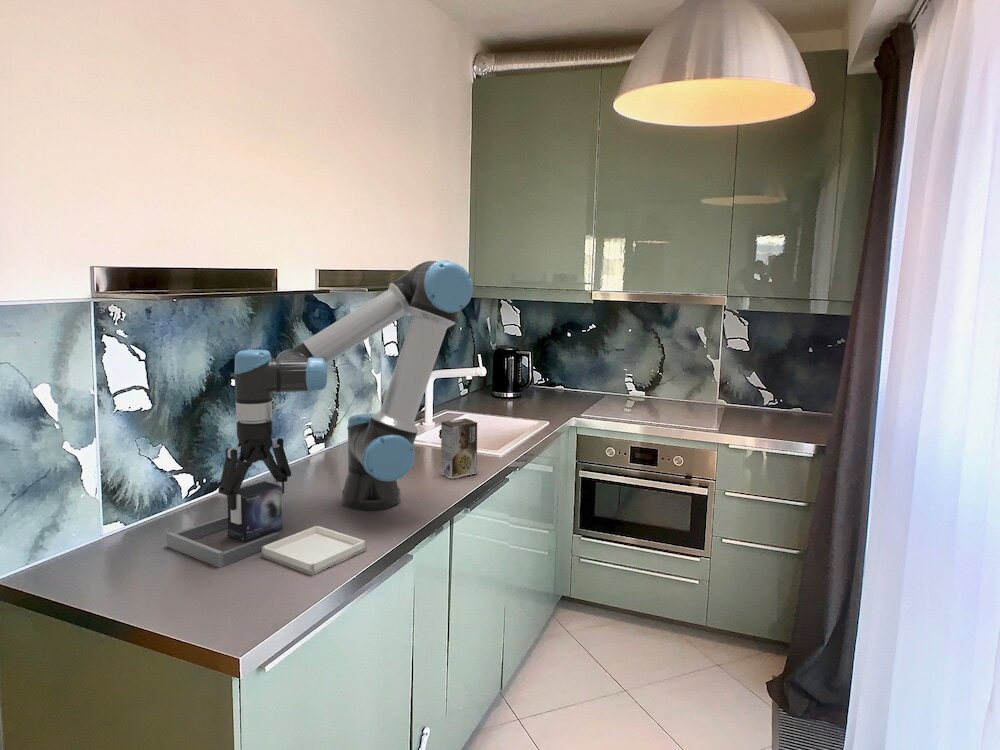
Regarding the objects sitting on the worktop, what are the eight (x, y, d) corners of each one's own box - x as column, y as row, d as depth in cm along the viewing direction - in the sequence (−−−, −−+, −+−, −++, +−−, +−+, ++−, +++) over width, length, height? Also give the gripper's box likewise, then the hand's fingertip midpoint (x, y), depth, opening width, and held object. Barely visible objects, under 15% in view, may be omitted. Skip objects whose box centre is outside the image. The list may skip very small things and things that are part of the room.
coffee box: (465, 469, 213) (466, 417, 210) (477, 474, 208) (478, 421, 205) (439, 474, 207) (440, 421, 205) (451, 479, 202) (452, 425, 200)
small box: (245, 543, 152) (244, 497, 151) (226, 536, 156) (225, 491, 154) (284, 529, 161) (283, 485, 160) (265, 523, 165) (264, 480, 163)
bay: (227, 526, 162) (227, 513, 162) (279, 544, 153) (279, 531, 152) (166, 546, 150) (166, 533, 149) (219, 567, 140) (218, 553, 140)
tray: (317, 534, 158) (316, 525, 158) (366, 550, 150) (366, 541, 150) (261, 556, 146) (261, 546, 145) (312, 575, 138) (311, 565, 137)
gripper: (284, 409, 166) (286, 498, 169) (197, 426, 147) (201, 527, 150) (306, 413, 162) (308, 505, 165) (219, 431, 143) (223, 534, 146)
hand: (257, 515), depth 158 cm, fingers closed on small box, 10 cm apart
